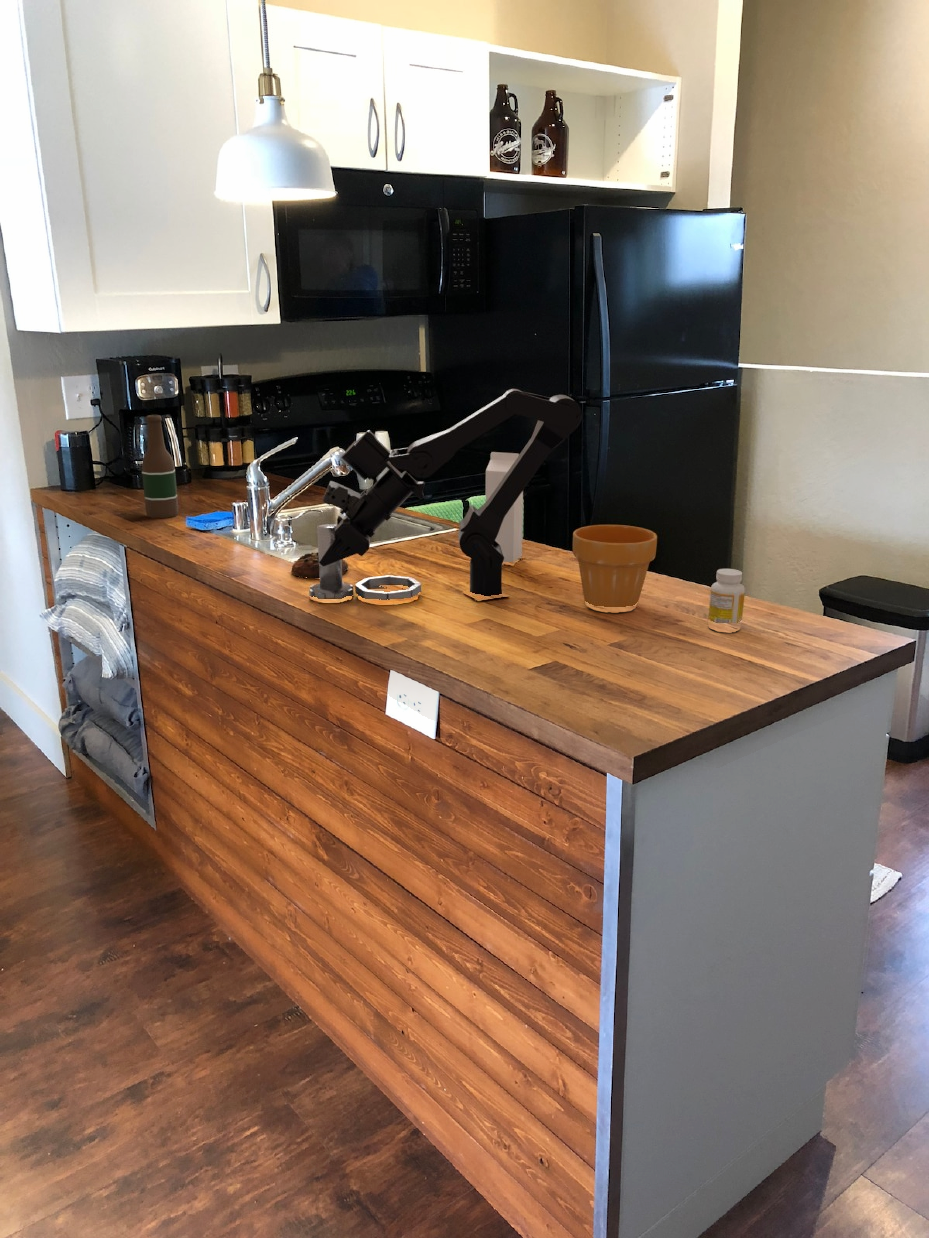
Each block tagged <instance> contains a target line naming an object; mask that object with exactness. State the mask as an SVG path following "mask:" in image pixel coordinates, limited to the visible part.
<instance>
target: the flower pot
mask: <svg viewBox="0 0 929 1238" xmlns="http://www.w3.org/2000/svg"><path fill="white" fill-rule="evenodd" d="M657 544H658V535H657V533H655V532H654V531H653V530H650V529H647V528H644V527H638V526H633V525H632V526H631V525H625V524H623V525H622V524H594V525H587V526H583V527H579V528H577V529H575V530H574V531H573V533H572V554H573V557H575V558H576V559H577V562H578V568H579V575H580V582H581V588H582V594H583V598H584V602H585V601H586V602H588V603H589V604H592V605H594V606H604V607H626V606H633V605H635V604H636V603H637V602H638V603H639V600H640V596H641V593H642V590H643V587H644V583H645V578H646V576H647V572H648V569H649V565H650V562H652V561H654V559H655V558H656V553H657Z"/></svg>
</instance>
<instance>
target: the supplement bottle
mask: <svg viewBox="0 0 929 1238" xmlns="http://www.w3.org/2000/svg"><path fill="white" fill-rule="evenodd" d="M715 577H716V582H714V583H712V585H711V587H710V594H709V595H710V596H709V606H708V607H709V608H708V619H710V620H711V621H713V622H715V623H738V622H740V621H741V620H742V621H743V614H744V603H745V595H746V588H745V586H744V585H743V584H742V583H741V582H742V581H743V572H742V571H741V570H738V569H734V568H719V569H717V570H716V576H715ZM708 619H707V620H708Z"/></svg>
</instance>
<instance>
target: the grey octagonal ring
mask: <svg viewBox="0 0 929 1238" xmlns="http://www.w3.org/2000/svg"><path fill="white" fill-rule="evenodd" d="M380 585H403V586H408V587H409V589H406V590H398V591H390V592H384V591H375V590H368V589H387V587H386V588H384V587H382V586H381V587H379V586H380ZM402 589H403V588H402ZM354 590H355V591H354V592H355V594H356V595H357V594H358V596H361V597H362V598H365V599H379V600H380V599H381V600H387V599H388V600H390V599H404V598H411V597H413V596H415V595H417V594H418V593H419V592H421V593H422V582H419V581H418V580H416V579H415V578H414V577H411V576H403V575H401V576H400V575H389V574H388V575H381V576H372V577H371V576H370V577H365V578H363V579H362V580H360V581H358V582H357V583H355V585H354Z"/></svg>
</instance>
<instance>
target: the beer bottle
mask: <svg viewBox="0 0 929 1238" xmlns="http://www.w3.org/2000/svg"><path fill="white" fill-rule="evenodd" d="M162 420H163V419H162V416H161V415H159V414H150V415H146V417H145V422H146V424H147V429H146V430H147V450H146V452H145V454H144V456H143V458H142V460H141V461H142V462H141V475H142V485H143V497H144V504H145V505H144V506H145V514H146V517H147V518H151V519H170V518H173V517H177V516H178V514H179V499H178V488H177V478H176V469H175V468H176V467H175V461H174V459H173V458H172V455H171V454H170V452H169V450H167V449H166V445H165V440H164V439H165V438H164V433H163V426H162Z"/></svg>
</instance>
